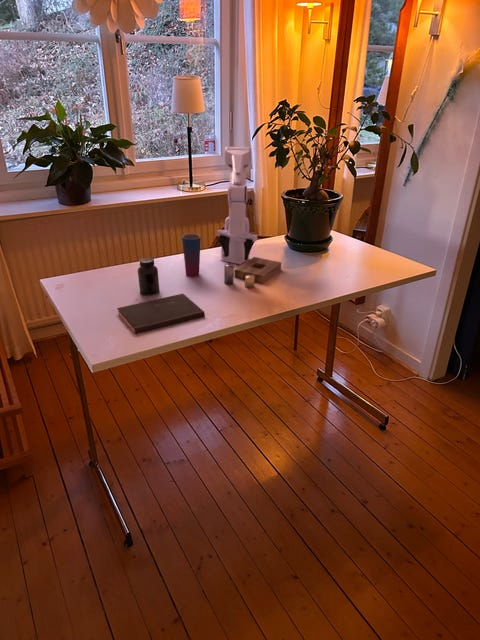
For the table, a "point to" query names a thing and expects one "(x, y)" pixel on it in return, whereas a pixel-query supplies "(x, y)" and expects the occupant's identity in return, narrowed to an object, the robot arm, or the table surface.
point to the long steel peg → (228, 274)
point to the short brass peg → (249, 281)
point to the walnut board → (258, 269)
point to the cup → (191, 253)
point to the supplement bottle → (148, 277)
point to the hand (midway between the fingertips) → (236, 257)
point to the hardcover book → (160, 313)
